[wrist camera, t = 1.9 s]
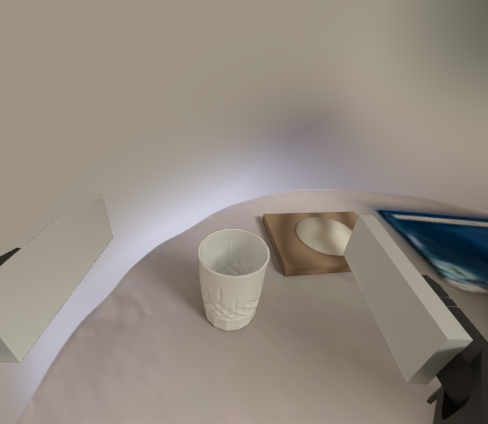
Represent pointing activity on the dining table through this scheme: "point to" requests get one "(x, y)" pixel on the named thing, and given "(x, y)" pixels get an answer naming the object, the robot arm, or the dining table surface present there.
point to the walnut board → (310, 241)
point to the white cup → (232, 276)
